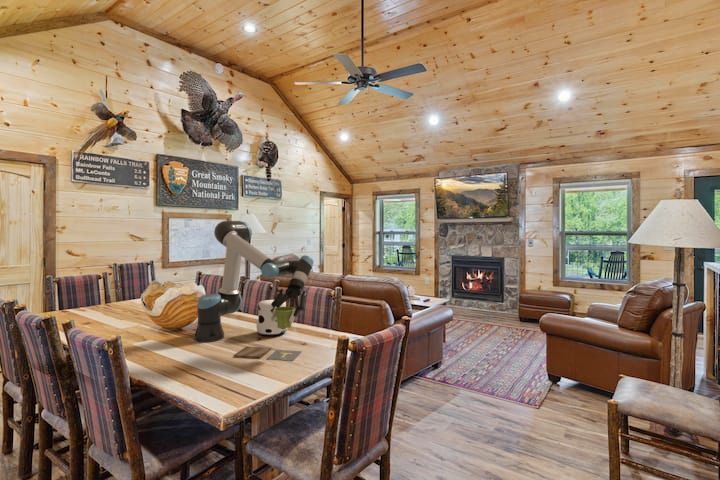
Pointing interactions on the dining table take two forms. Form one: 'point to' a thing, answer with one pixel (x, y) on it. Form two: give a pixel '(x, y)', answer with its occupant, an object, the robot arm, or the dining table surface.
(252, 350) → the walnut board
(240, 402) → the dining table surface
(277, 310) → the plant pot
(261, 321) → the milk container
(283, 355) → the slate mat
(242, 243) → the robot arm
